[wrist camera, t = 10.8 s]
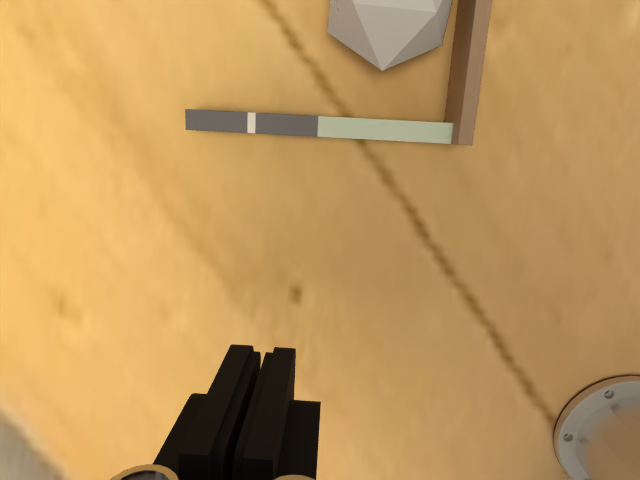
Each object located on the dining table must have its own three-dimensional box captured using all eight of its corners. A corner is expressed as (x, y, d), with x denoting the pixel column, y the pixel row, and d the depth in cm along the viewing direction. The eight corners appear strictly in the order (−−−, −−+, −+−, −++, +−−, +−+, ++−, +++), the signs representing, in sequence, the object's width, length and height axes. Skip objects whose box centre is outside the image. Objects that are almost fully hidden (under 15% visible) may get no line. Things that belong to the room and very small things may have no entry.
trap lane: (482, -85, 32) (508, -122, 27) (454, 142, 36) (472, 145, 31) (193, -96, 32) (168, -135, 27) (198, 129, 36) (176, 130, 32)
